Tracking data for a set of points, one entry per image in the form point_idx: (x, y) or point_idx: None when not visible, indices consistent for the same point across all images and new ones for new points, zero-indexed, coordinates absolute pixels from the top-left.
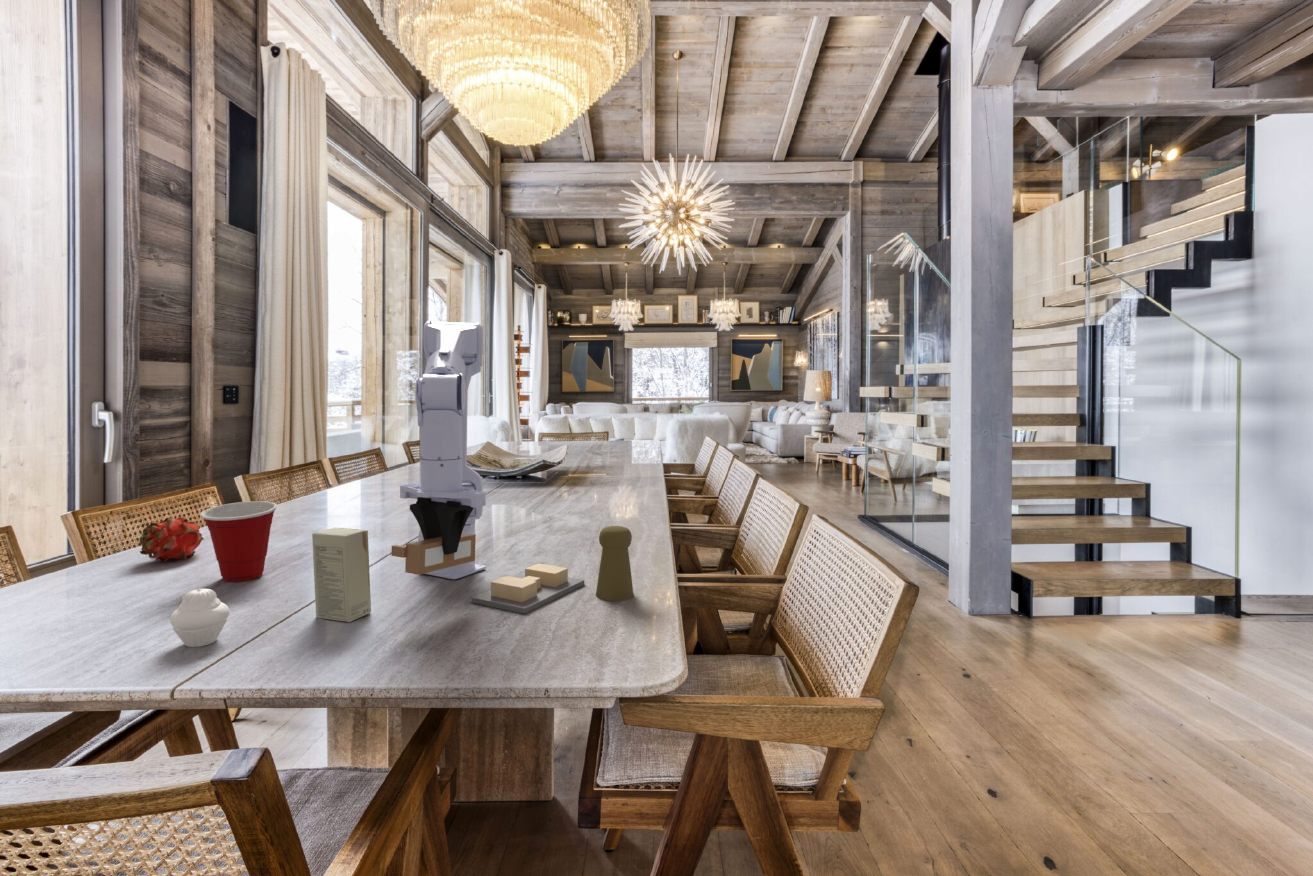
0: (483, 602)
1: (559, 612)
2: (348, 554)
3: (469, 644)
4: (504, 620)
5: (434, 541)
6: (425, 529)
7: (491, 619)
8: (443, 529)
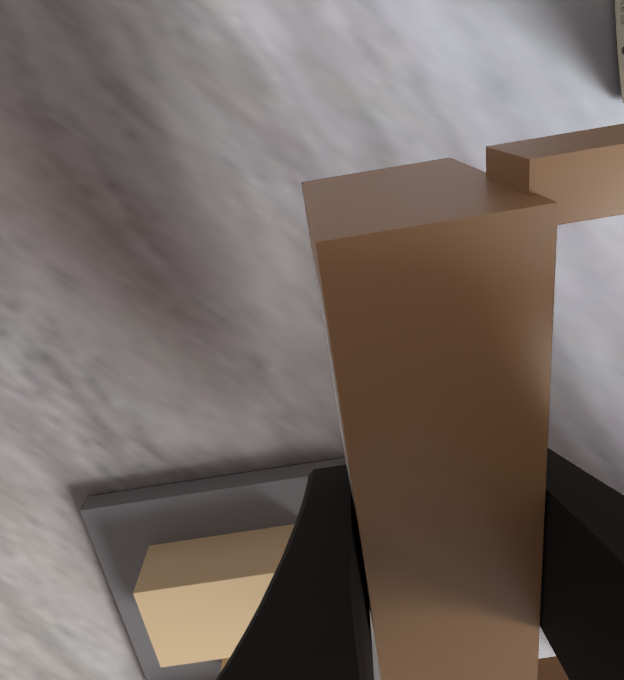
0: (290, 471)
1: (13, 572)
2: None
3: None
4: (82, 412)
5: (398, 475)
6: (622, 556)
7: (129, 389)
8: (305, 628)
